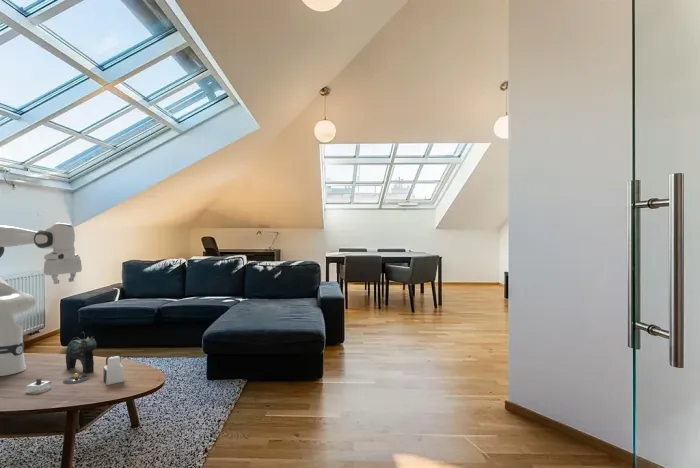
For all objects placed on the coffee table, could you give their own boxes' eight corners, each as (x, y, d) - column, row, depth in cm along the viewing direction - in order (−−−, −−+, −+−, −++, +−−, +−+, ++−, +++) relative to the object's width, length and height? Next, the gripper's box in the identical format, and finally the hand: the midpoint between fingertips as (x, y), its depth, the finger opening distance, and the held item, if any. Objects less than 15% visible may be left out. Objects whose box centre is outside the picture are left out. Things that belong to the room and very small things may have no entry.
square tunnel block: (26, 392, 173) (26, 385, 173) (38, 387, 179) (38, 380, 179) (39, 393, 173) (39, 386, 173) (50, 387, 179) (50, 381, 179)
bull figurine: (97, 371, 204) (97, 332, 204) (84, 375, 198) (84, 334, 198) (74, 366, 212) (74, 328, 213) (61, 369, 207) (61, 330, 207)
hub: (57, 385, 184) (57, 377, 184) (74, 378, 194) (74, 369, 194) (78, 386, 183) (78, 377, 183) (93, 378, 193) (93, 370, 193)
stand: (22, 395, 172) (22, 381, 172) (38, 388, 180) (38, 375, 180) (39, 396, 172) (39, 382, 172) (54, 389, 180) (54, 375, 180)
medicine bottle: (103, 381, 190) (103, 355, 190) (120, 377, 194) (120, 353, 194) (106, 385, 184) (106, 359, 184) (123, 381, 189) (123, 356, 189)
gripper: (73, 254, 211) (73, 280, 211) (41, 256, 190) (41, 285, 190) (85, 254, 210) (85, 280, 210) (53, 256, 190) (53, 285, 190)
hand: (64, 282), depth 200 cm, fingers open, 8 cm apart
